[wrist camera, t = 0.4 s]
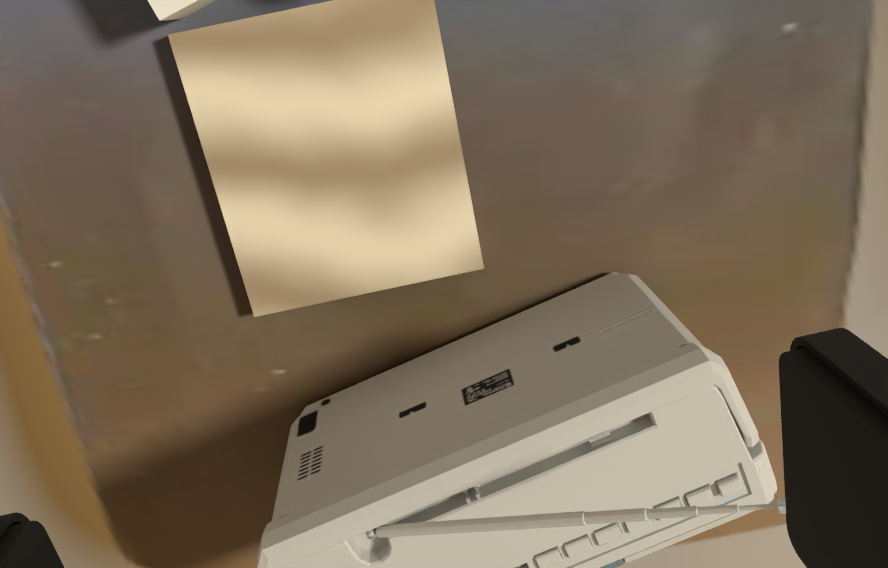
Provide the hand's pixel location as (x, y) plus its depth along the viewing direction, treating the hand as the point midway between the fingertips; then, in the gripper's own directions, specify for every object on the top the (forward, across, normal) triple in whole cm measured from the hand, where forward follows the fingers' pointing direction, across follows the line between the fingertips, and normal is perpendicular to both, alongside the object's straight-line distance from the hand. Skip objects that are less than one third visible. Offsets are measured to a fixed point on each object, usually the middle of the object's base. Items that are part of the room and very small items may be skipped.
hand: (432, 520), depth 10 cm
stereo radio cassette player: (+30, -2, +15) cm, 34 cm away
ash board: (+30, +3, +1) cm, 30 cm away
